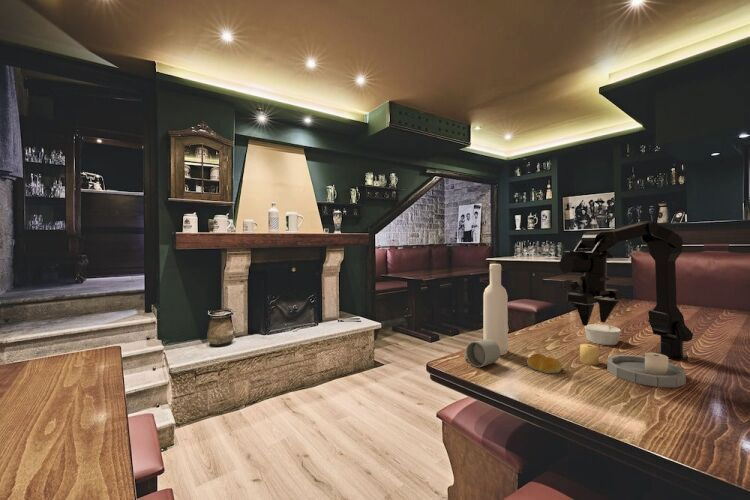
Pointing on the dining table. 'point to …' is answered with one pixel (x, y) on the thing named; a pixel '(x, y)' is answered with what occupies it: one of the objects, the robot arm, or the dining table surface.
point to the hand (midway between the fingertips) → (594, 323)
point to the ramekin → (602, 334)
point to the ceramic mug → (482, 352)
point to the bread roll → (544, 363)
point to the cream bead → (656, 364)
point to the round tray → (635, 371)
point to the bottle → (496, 310)
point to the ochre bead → (589, 354)
